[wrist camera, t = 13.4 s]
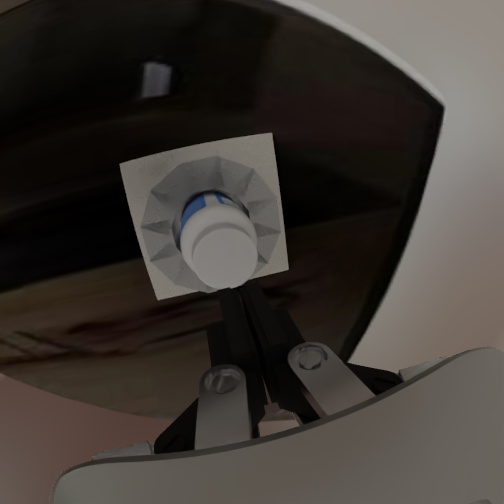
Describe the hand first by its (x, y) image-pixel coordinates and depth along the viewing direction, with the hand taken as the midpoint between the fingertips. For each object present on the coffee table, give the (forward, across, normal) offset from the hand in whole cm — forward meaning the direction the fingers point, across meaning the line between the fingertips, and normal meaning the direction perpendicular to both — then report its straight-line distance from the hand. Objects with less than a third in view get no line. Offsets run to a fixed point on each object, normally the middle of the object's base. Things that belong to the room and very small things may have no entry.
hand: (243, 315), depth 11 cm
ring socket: (+16, 0, 0) cm, 16 cm away
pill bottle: (+16, 0, 0) cm, 16 cm away
